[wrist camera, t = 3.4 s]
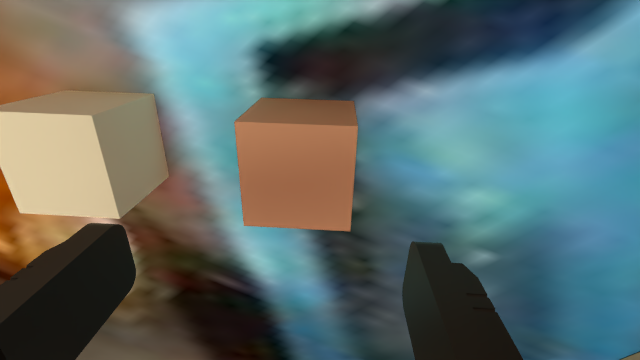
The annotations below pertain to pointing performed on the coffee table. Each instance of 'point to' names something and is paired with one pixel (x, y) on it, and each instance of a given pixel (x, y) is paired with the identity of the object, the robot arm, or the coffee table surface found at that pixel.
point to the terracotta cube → (297, 163)
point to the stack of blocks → (633, 357)
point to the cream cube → (82, 152)
